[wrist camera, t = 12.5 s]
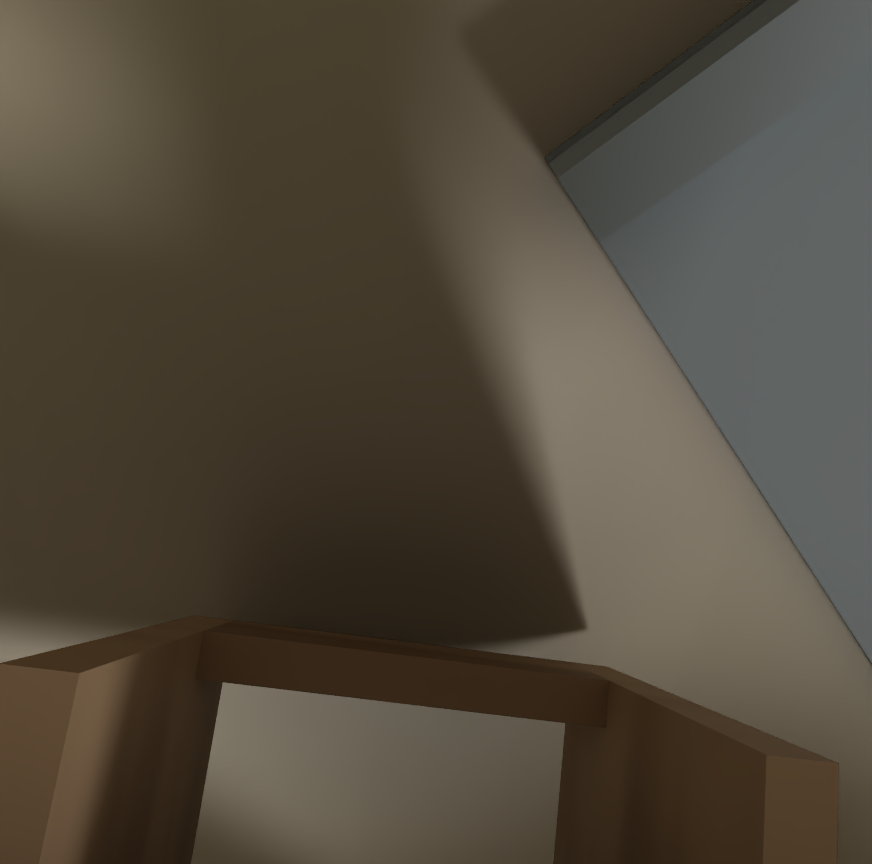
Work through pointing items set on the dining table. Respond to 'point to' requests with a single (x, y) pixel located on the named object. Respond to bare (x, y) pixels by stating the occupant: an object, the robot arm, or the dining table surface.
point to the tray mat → (759, 256)
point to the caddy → (400, 683)
